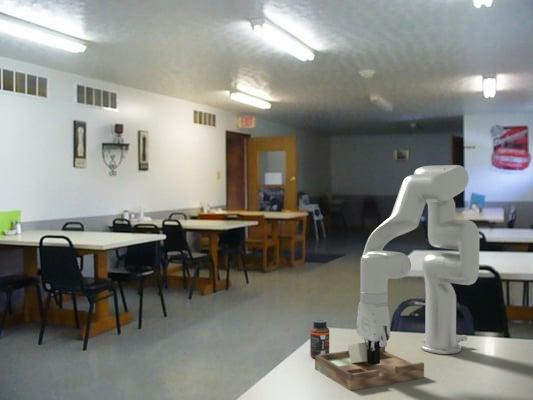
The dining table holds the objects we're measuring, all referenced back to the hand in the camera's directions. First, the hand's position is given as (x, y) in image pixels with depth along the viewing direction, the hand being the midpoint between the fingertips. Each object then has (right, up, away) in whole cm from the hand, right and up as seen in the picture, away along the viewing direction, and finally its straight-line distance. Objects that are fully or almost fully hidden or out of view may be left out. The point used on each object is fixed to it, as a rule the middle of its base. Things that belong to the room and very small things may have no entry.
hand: (373, 363), depth 157 cm
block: (-2, 0, +3) cm, 4 cm away
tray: (-1, -4, +3) cm, 5 cm away
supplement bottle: (-13, -3, +18) cm, 23 cm away
